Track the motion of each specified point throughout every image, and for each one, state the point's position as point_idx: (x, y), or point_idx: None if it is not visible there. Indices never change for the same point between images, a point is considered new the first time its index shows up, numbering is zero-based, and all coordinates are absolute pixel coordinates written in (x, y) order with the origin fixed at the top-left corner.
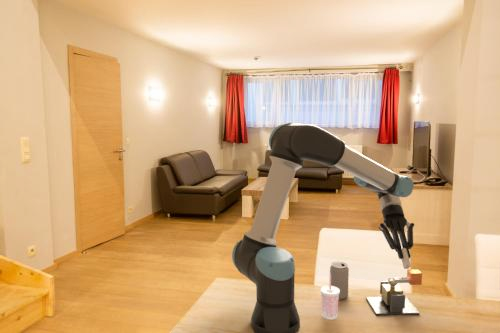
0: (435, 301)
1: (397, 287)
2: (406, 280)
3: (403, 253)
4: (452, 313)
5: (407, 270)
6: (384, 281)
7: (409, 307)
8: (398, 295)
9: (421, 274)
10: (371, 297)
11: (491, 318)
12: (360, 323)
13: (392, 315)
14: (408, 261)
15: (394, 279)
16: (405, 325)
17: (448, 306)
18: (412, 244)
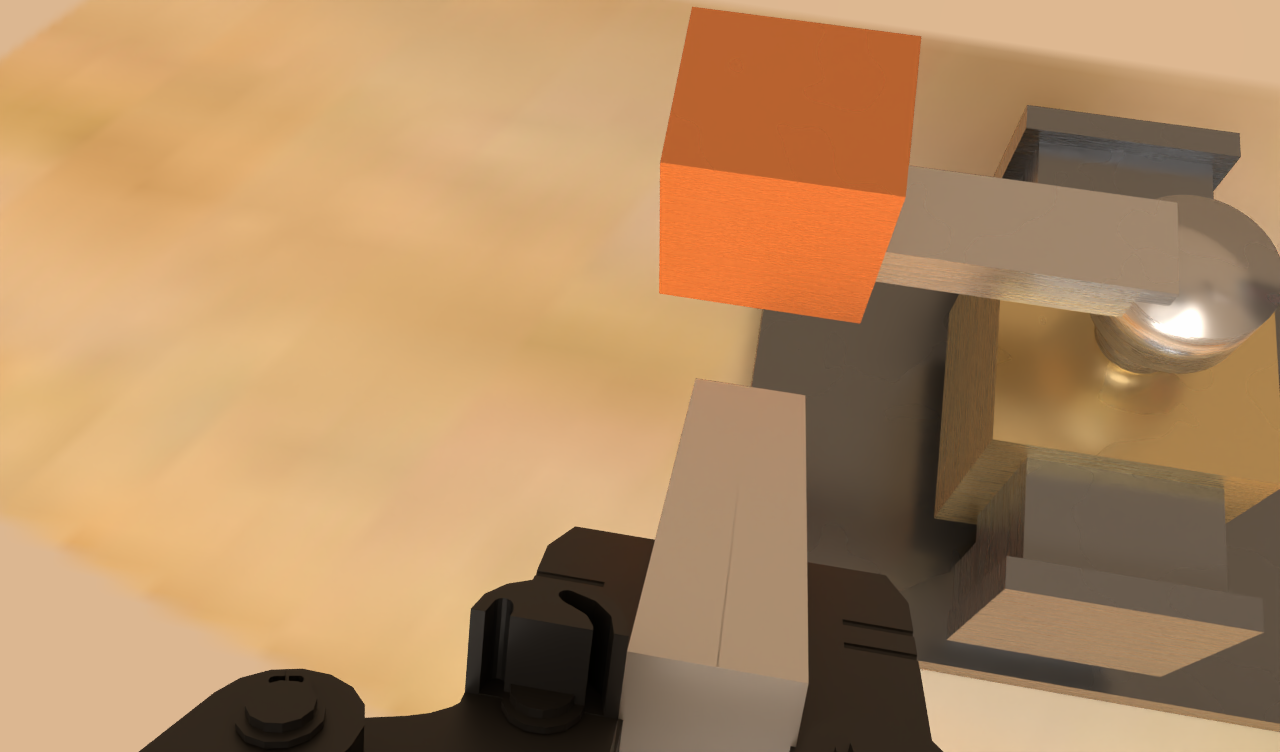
0: (350, 476)
1: (1045, 323)
2: (951, 181)
3: (800, 556)
4: (371, 198)
5: (902, 202)
6: (1185, 605)
7: (833, 339)
8: (1130, 124)
9: (703, 24)
10: (1274, 704)
11: (55, 53)
12: None
13: None
14: (716, 429)
15: (1176, 239)
16: (1037, 97)
17: (288, 334)
18: (220, 714)
